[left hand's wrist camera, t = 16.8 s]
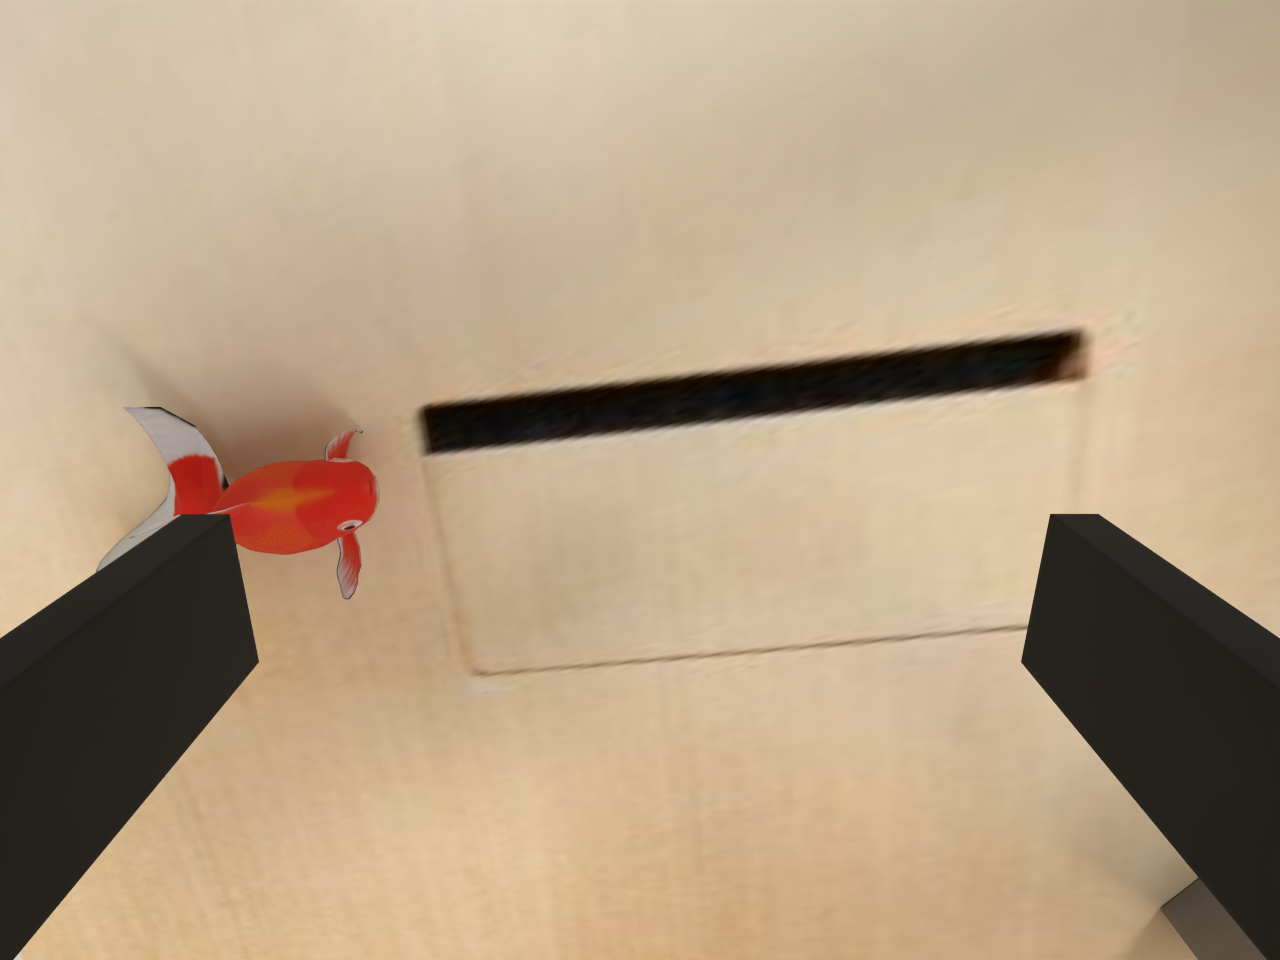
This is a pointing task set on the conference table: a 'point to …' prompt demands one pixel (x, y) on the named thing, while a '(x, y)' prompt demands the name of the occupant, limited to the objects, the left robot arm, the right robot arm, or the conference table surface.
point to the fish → (262, 496)
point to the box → (1208, 926)
